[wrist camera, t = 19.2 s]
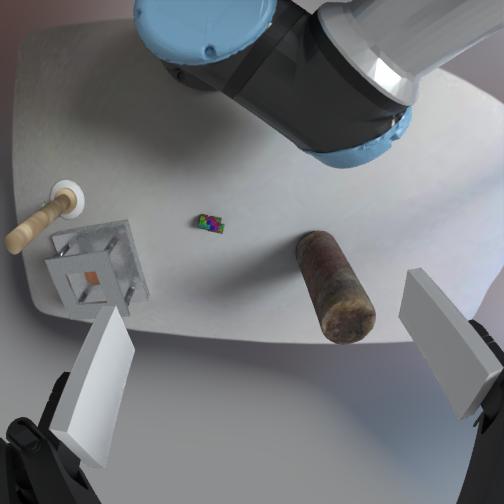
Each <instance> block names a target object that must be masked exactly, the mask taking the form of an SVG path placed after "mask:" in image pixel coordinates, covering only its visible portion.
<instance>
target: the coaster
mask: <svg viewBox="0 0 504 504" xmlns="http://www.w3.org/2000/svg"><path fill="white" fill-rule="evenodd" d="M62 188H69V189H71V190H73V191H74V193H75V194H76V197H77V206H76V208H75V209H74V210H73V211H72V212H71V213H69V214H61V215H60V216H61V217H62V218H65V219H73V218H76V217H77V216H79V215H80V214H81V212H82V211H83V209H84V205H85V198H84V194H83V191H82V189H81V188H80V186H79V185H78V184H76V183H75V182H73V181H71V180H62V181H59V182H58V183H56V184H55V185H54V187H53V188H52V191H51V196H50V199H51V201H52V200H54V195H55V194H56V192H57V191H59V190H60V189H62Z"/></svg>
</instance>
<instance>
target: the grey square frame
mask: <svg viewBox="0 0 504 504" xmlns="http://www.w3.org/2000/svg"><path fill="white" fill-rule="evenodd" d="M52 239H53V242H54V244H55V247H56V250H57V254H56V255H55V256H54V257H53V258H47V259H46V260H45V262H46V264H47V267H48V269H49V272H50V274H51V277H52V279H53V281H54V284H55V286H56V288H57V291H58V293H59V295H60V298H61V300H62V302H63V304H64V306H65V308H66V311H67V313H68V315H69V317H70V319H91V318H96V316H97V314H98V312H99V310H100V308H101V306H113V305H116V306H117V309H118V311H119V314H120V316H121V317H125V316H130V312H129V310H128V305H129V303H130V302H139V301H148V298H149V295H150V294H149V291H148V288H147V285H146V281H145V278H144V275H143V272H142V268H141V265H140V261H139V258H138V254H137V251H136V247H135V244H134V240H133V236H132V233H131V229H130V225H129V221H128V220H122V221H116V222H110V223H104V224H98V225H93V226H87V227H81V228H76V229H70V230H65V231H60V232H56V233H55V234H54V235H53V236H52ZM92 271H95V272H96V274H97V277H98V280H99V282H100V285H92V284H90V283H89V282H88V281H87V280H86V278H85V272H92Z"/></svg>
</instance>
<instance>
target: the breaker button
mask: <svg viewBox="0 0 504 504" xmlns="http://www.w3.org/2000/svg"><path fill="white" fill-rule="evenodd" d="M85 278H86V280H87V281H88V282H89V283H90V284H92V285H100V282H99V280H98V277H97V274H96V272H95V271H92V272H85Z"/></svg>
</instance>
